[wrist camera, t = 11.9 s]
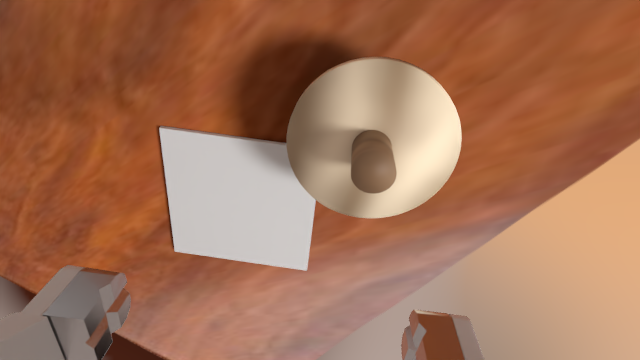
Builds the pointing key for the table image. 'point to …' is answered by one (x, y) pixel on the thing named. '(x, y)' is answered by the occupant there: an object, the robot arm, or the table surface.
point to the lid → (373, 137)
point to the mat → (236, 198)
